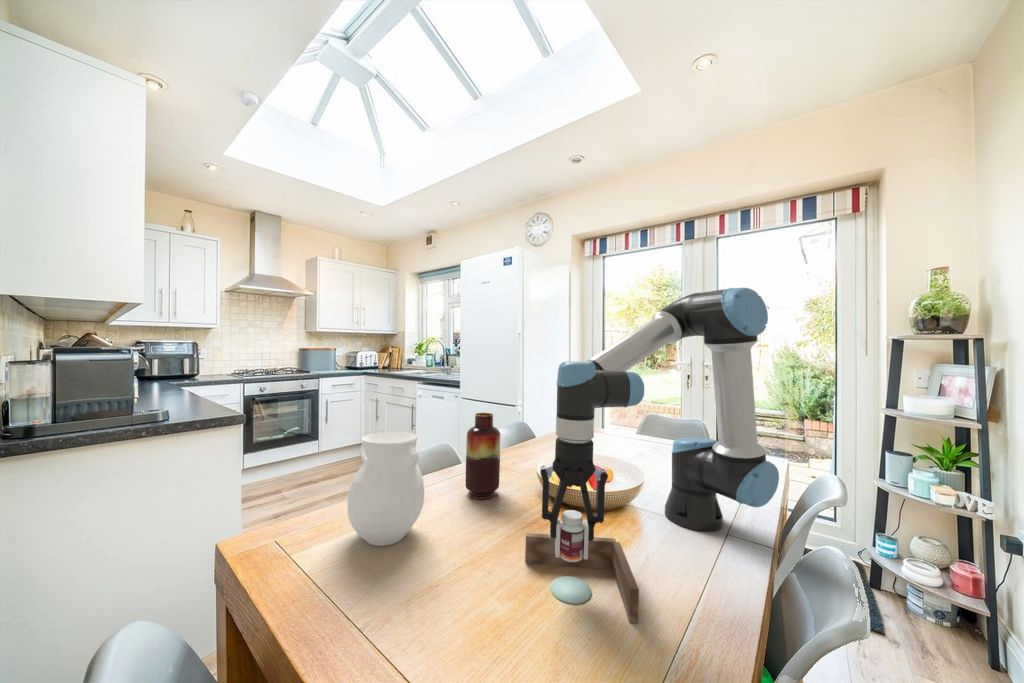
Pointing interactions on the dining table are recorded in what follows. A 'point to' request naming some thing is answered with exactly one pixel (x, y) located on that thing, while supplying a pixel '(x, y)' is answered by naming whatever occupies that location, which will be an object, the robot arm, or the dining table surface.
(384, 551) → the dining table surface
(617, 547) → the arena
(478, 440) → the vase
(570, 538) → the pill bottle
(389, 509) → the white vase
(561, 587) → the disc
